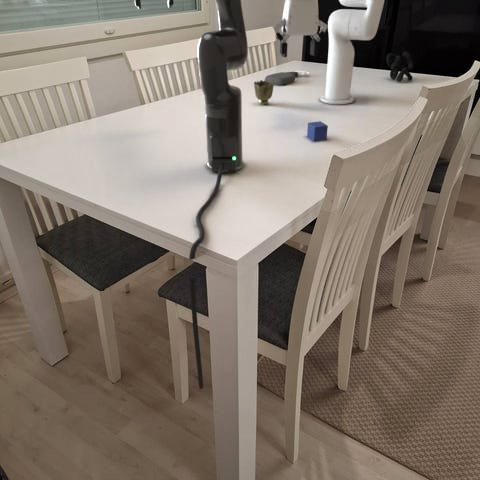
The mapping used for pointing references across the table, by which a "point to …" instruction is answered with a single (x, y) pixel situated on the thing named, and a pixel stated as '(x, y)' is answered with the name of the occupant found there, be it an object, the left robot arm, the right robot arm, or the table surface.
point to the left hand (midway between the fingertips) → (154, 8)
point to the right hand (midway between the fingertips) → (298, 55)
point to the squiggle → (399, 66)
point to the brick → (317, 131)
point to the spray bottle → (284, 77)
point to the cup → (263, 91)
